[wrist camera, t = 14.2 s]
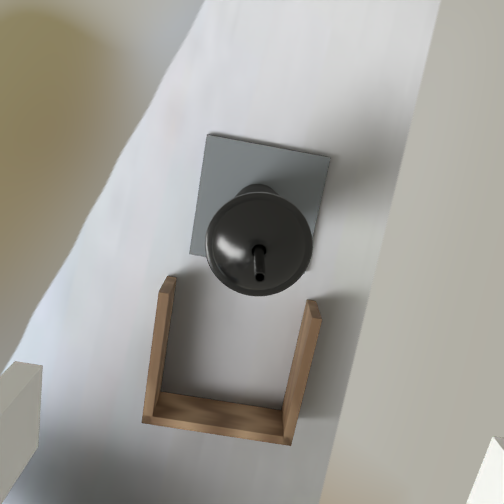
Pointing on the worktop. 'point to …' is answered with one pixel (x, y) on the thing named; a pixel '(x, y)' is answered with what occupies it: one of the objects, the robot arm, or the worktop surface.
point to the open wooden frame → (220, 412)
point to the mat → (255, 179)
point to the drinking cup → (258, 242)
